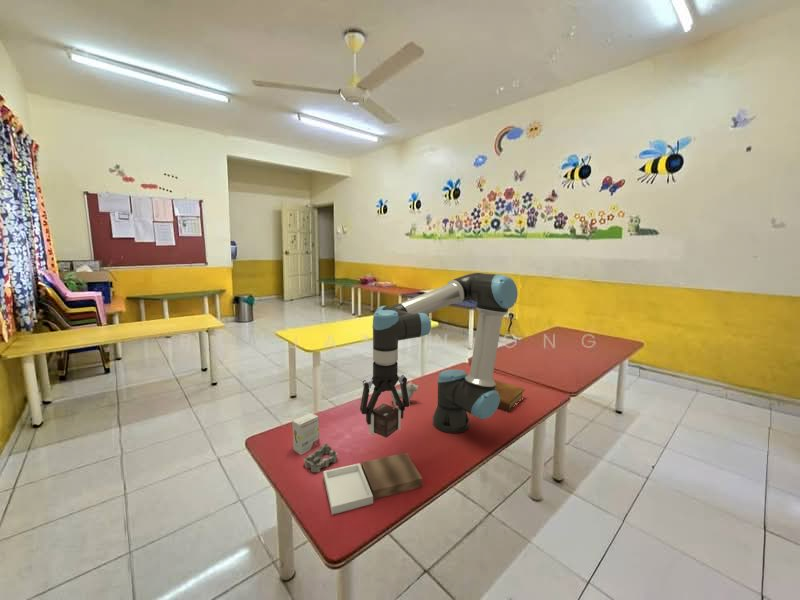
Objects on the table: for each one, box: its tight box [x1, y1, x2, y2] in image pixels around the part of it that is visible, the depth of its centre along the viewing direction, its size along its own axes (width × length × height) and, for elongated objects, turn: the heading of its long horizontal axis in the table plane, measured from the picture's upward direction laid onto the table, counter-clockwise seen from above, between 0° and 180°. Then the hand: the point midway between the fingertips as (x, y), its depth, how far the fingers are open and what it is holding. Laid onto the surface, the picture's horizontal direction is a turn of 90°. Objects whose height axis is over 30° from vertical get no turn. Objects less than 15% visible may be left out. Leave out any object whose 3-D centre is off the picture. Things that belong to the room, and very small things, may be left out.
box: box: [372, 403, 399, 439], centre depth 107 cm, size 6×6×7 cm
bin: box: [323, 462, 374, 516], centre depth 105 cm, size 12×16×2 cm
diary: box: [493, 379, 525, 413], centre depth 168 cm, size 23×19×6 cm
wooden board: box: [361, 452, 423, 501], centre depth 110 cm, size 16×14×3 cm
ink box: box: [291, 412, 321, 456], centre depth 126 cm, size 9×5×12 cm, turn 140°
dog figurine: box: [390, 380, 419, 407], centre depth 161 cm, size 5×13×11 cm, turn 96°
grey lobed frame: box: [302, 443, 339, 473], centre depth 118 cm, size 11×8×4 cm
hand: (384, 430), depth 107 cm, fingers closed on box, 8 cm apart
